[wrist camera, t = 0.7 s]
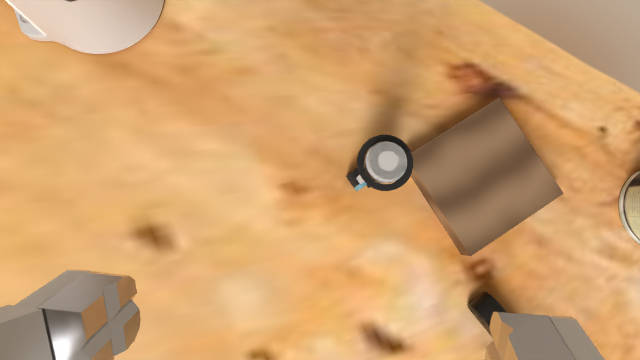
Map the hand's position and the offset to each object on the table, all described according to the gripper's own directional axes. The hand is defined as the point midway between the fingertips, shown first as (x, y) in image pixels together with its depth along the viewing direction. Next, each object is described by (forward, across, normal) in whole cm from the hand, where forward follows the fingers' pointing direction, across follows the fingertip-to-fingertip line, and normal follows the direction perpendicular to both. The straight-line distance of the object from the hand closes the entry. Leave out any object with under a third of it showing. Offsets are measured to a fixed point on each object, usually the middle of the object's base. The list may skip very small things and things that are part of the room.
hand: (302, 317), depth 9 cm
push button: (+39, -1, +8) cm, 40 cm away
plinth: (+41, -13, +8) cm, 44 cm away
